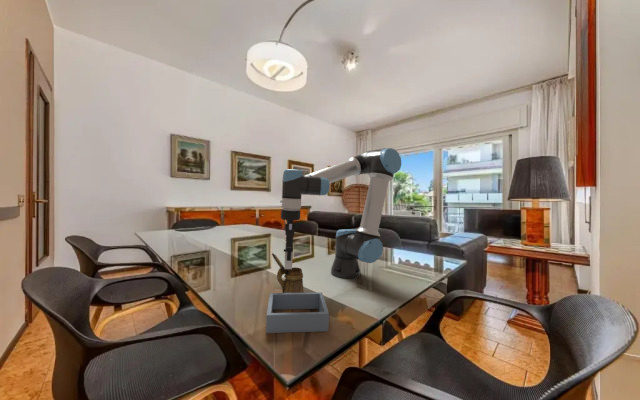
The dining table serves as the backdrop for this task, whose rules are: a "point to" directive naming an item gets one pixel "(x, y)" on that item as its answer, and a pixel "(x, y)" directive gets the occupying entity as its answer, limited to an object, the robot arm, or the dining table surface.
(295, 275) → the wooden mug
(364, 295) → the dining table surface
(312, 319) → the box
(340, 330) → the dining table surface
